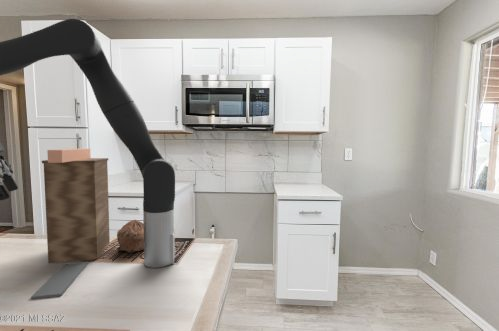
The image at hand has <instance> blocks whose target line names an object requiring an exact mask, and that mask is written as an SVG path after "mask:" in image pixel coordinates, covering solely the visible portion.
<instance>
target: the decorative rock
mask: <svg viewBox="0 0 499 331" xmlns="http://www.w3.org/2000/svg"><path fill="white" fill-rule="evenodd" d="M116 237H117V243H118V246H119V248H120V249H119V251H124V252H127V253H129V254H130V253H135V252H139V251H142V250H144V224H143V222H141V221H139V220H137V219H133V220H129V221H127V223H125V224H124V225H122V227H121V228H120V229H119V230H117V232H116Z"/></svg>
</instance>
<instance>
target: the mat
mask: <svg viewBox="0 0 499 331" xmlns="http://www.w3.org/2000/svg"><path fill="white" fill-rule="evenodd" d="M87 265H89V261H85V262H84V261H82V262H80V261H79V262H71V263H70V262H69V263H63V265H62V266H61V267H60V268H59V269H57V271H56V272H55V273H54V274H53V275H52V276H50V277H49V278H48V279H47V280H46V281H45V282H44V283H43V285H42V286H40V287H39V288H38V289H37V290H36V291H35V293H33V294H32V296H30V300H36V299H38V300H39V299H44V298H46V299H47V298H55V297H57V298H58V297H62V296H63V295H64V293H65V292H66V291H67V290H68V289H69V288H70V286H71V285H72V284H73V283H74V281H75V280H76V279H77V278H78V277H79V275H81V273H82V272H83V271H84V270H85V268H86V267H87Z"/></svg>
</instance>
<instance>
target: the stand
mask: <svg viewBox="0 0 499 331" xmlns="http://www.w3.org/2000/svg"><path fill="white" fill-rule="evenodd" d="M108 161H109V157H108V158H107V157H106V158H105V157H104V158H103V157H102V158H101V157H99V158H98V157H90V159H83V160H77V161H70V162H63V163H48V159H44V160H41V164H43V178H44V180H43V181H44V194H45V195H44V200H45V201H44V202H45V218H46V219H45V220H46V239H47V240H46V242H47V259H48V260H47V262H48V264H55V263H65V262H77V261H79V262H80V261H90V260H98V259H99V258H100V257H101V255H102V254H103V252H105V250H106V249H107V248H108V246H109V245H110V243H111V242H110V240H111V239H110V237H111V236H110V215H109V214H110V212H109V211H110V210H109V208H110V207H109V206H110V205H109V178H108V176H109V175H108V174H109V173H108V172H109V171H108V169H109V168H108Z"/></svg>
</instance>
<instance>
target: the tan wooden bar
mask: <svg viewBox="0 0 499 331" xmlns="http://www.w3.org/2000/svg"><path fill="white" fill-rule="evenodd" d="M46 152H47V160H48V163H63V162H70V161H77V160H83V159H90V158H91V148H68V149H67V148H62V149H47V151H46Z"/></svg>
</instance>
